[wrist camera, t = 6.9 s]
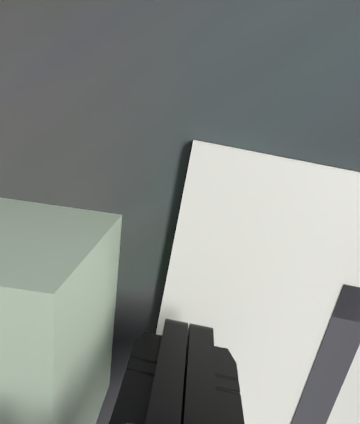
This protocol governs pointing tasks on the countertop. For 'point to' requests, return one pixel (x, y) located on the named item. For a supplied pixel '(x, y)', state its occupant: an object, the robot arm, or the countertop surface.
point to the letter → (273, 279)
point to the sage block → (56, 311)
